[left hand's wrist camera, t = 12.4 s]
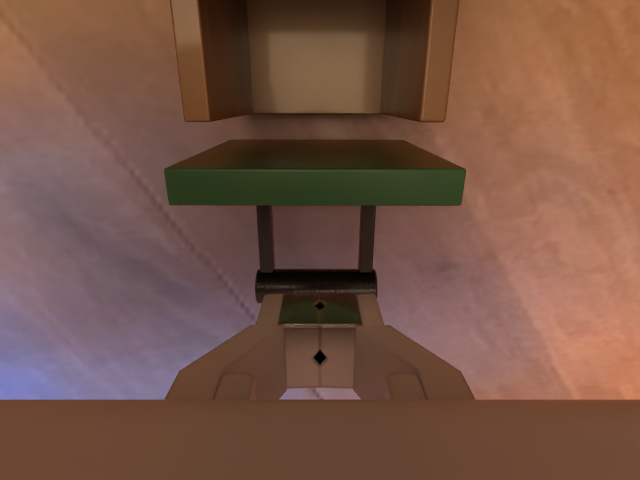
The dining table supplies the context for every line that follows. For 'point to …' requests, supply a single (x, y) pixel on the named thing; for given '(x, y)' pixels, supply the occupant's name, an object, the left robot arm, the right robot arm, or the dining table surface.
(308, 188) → the drawer
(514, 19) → the dining table surface
